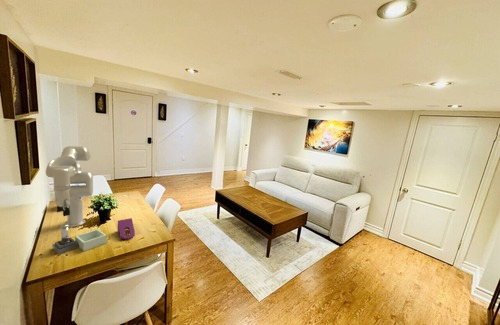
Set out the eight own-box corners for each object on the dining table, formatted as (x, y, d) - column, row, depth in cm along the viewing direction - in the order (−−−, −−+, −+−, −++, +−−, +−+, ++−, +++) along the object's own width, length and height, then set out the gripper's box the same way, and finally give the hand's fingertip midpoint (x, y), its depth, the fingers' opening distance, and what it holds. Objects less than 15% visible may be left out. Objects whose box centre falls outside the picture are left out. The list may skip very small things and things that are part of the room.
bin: (75, 244, 138) (75, 236, 137) (97, 236, 149) (97, 229, 149) (83, 251, 132) (83, 242, 131) (106, 242, 143) (106, 234, 142)
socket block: (52, 248, 132) (52, 242, 131) (72, 242, 140) (71, 236, 139) (58, 254, 126) (57, 247, 126) (78, 247, 135) (77, 241, 134)
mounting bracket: (134, 243, 155) (130, 225, 167) (135, 236, 151) (131, 218, 163) (120, 246, 149) (117, 227, 161) (120, 239, 146) (117, 220, 157)
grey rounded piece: (59, 244, 132) (58, 225, 130) (68, 241, 136) (67, 222, 134) (61, 246, 130) (60, 227, 128) (71, 243, 134) (70, 225, 132)
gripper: (49, 185, 128) (50, 211, 131) (59, 191, 120) (61, 219, 122) (64, 183, 135) (65, 208, 137) (75, 189, 126) (76, 215, 128)
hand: (63, 213), depth 129 cm, fingers open, 9 cm apart
